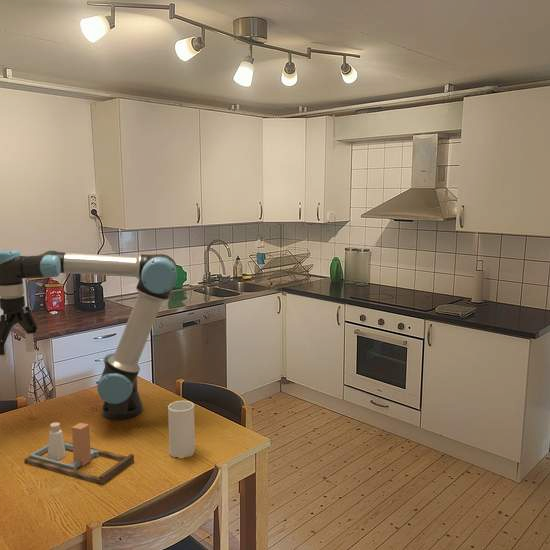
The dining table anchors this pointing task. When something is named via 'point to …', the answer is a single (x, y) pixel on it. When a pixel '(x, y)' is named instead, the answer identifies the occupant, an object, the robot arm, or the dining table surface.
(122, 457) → the track
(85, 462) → the frame
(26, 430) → the dining table surface
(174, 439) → the cup
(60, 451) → the salt shaker
